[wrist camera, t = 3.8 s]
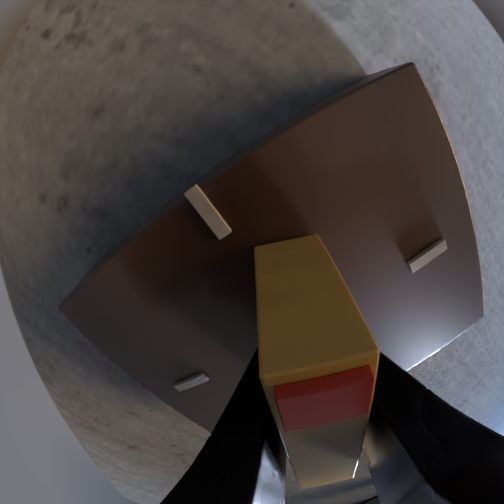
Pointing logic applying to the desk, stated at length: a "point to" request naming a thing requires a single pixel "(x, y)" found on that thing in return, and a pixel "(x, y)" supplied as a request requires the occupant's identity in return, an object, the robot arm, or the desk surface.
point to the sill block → (290, 227)
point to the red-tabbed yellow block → (313, 359)
